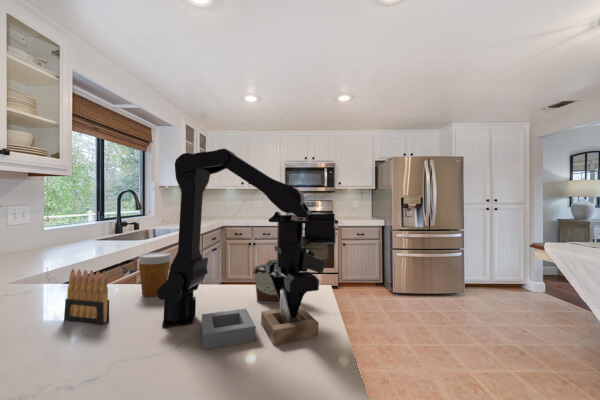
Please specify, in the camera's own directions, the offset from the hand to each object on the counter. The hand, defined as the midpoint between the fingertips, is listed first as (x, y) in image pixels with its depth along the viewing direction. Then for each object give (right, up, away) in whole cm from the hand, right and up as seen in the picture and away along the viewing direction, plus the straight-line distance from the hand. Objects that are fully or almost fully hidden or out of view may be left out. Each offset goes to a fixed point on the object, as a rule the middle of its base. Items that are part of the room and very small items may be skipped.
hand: (288, 312), depth 59 cm
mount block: (0, -4, 0) cm, 4 cm away
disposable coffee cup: (-43, -4, +23) cm, 49 cm away
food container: (-5, -5, +20) cm, 21 cm away
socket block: (-13, -4, -2) cm, 14 cm away
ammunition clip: (-48, -4, +3) cm, 48 cm away
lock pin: (0, -4, 0) cm, 4 cm away
